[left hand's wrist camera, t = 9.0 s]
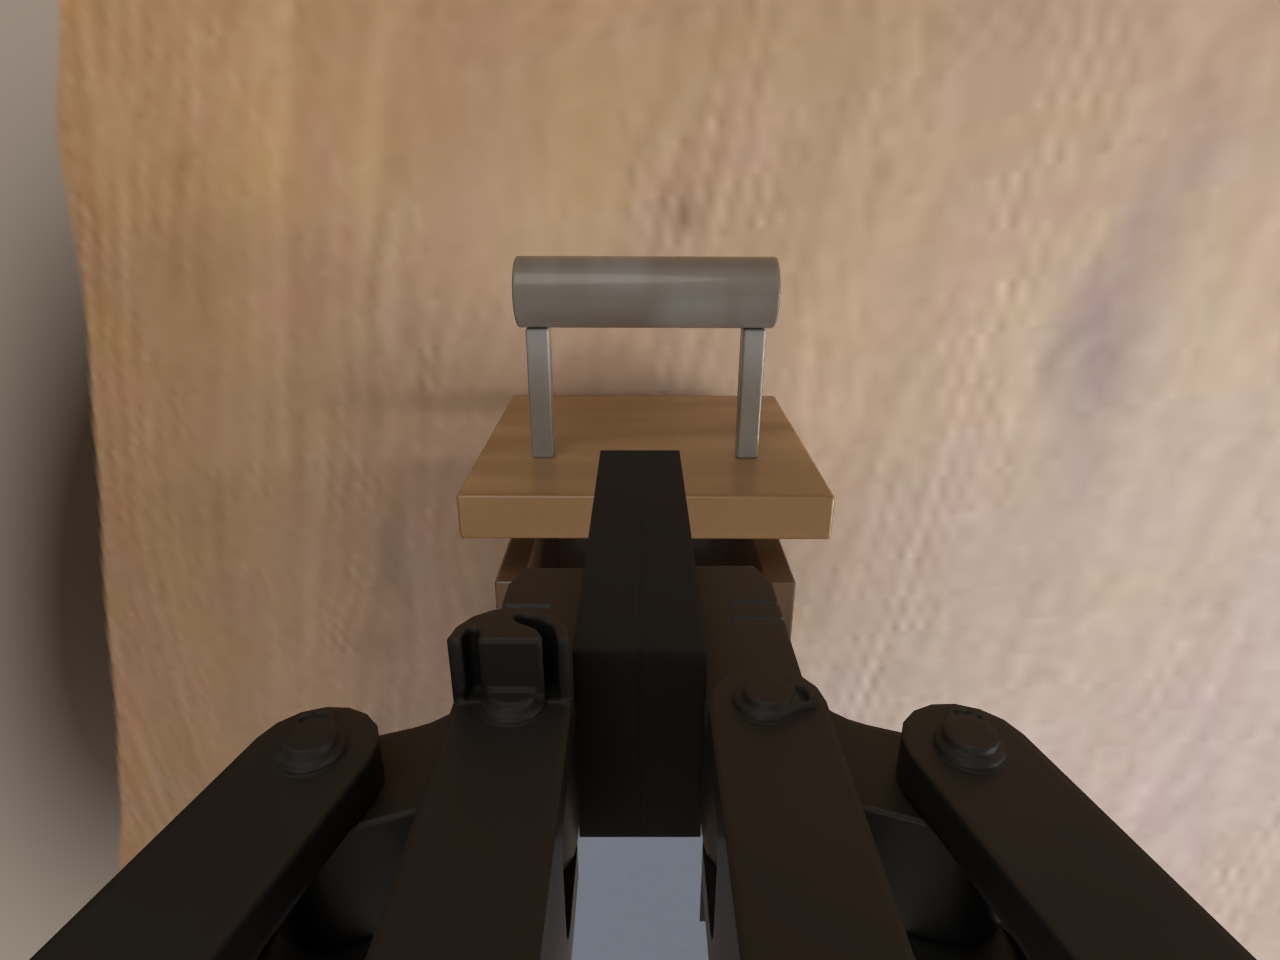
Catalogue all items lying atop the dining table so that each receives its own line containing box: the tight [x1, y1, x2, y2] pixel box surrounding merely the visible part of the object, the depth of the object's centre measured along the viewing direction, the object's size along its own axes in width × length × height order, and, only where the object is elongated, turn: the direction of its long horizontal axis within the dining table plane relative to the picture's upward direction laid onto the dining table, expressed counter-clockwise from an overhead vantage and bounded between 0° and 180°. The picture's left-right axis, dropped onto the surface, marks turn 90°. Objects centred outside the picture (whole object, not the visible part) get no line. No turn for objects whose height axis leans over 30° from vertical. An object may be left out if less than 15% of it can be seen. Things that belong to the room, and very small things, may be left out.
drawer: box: [457, 256, 835, 641], centre depth 25 cm, size 22×9×9 cm, turn 0°
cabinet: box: [572, 827, 709, 960], centre depth 30 cm, size 18×11×11 cm, turn 0°
